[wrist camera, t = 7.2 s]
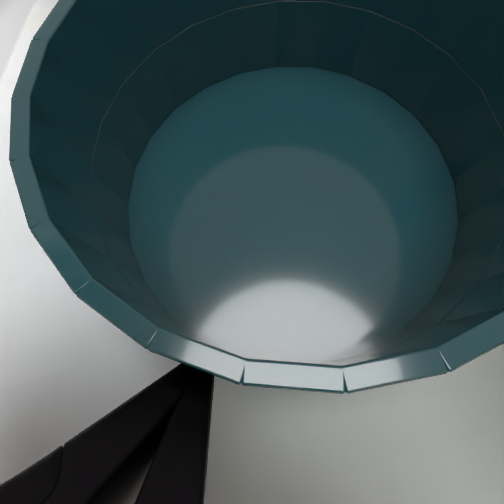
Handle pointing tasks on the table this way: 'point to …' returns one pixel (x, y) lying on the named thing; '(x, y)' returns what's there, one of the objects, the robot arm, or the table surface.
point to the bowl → (274, 181)
